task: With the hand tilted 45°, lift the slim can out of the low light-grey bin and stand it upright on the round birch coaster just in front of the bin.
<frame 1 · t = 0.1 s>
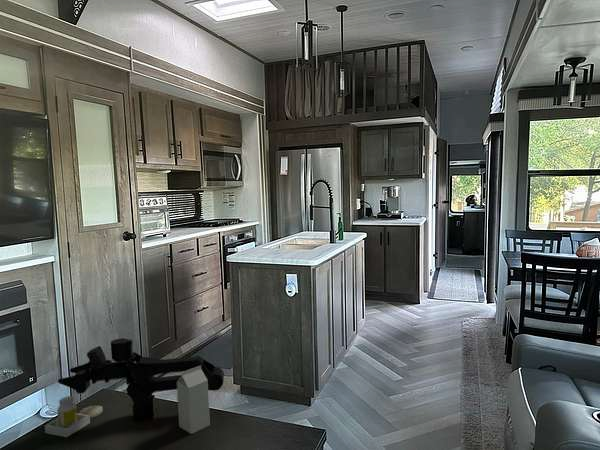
hand: (64, 375, 139), 17 cm above the table, tool horizontal, fingers open, 9 cm apart
supplement bottle: (68, 428, 137), resting in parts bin
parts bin: (68, 427, 137), on the table
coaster: (91, 413, 146), on the table
milk carton: (194, 426, 134), on the table
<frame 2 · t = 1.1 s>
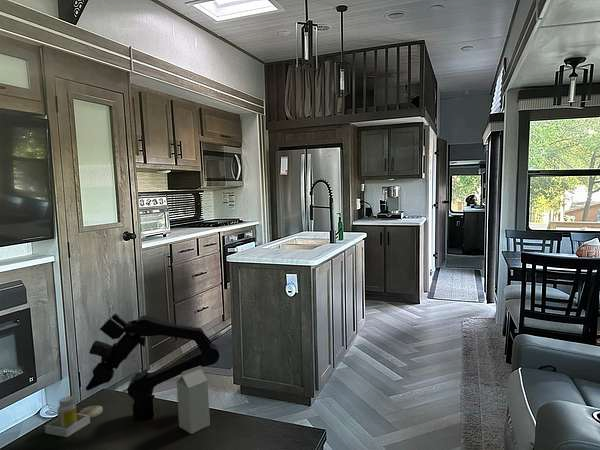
hand: (90, 383, 138), 14 cm above the table, tool tilted 45°, fingers open, 9 cm apart
nothing on the table moved.
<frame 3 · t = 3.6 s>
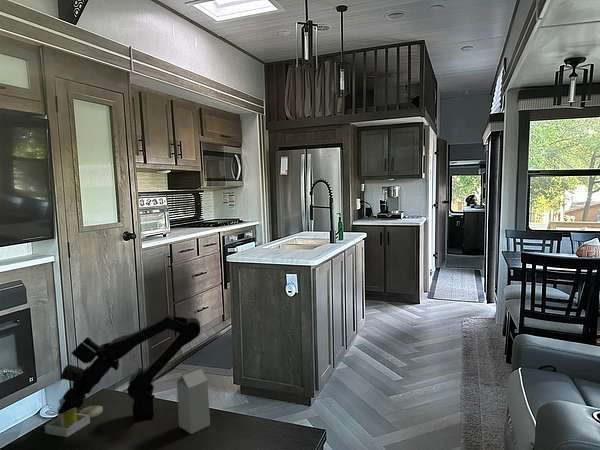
hand: (62, 408, 136), 7 cm above the table, tool tilted 45°, fingers open, 5 cm apart
supplement bottle: (68, 428, 137), resting in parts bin, touching gripper
everything else where it was.
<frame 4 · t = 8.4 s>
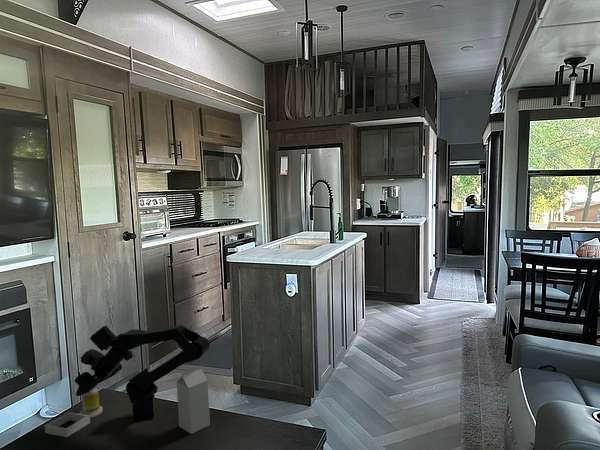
hand: (85, 389, 146), 9 cm above the table, tool tilted 45°, fingers open, 9 cm apart
supplement bottle: (91, 411, 146), point 1 cm above the table, touching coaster
everything else where it was.
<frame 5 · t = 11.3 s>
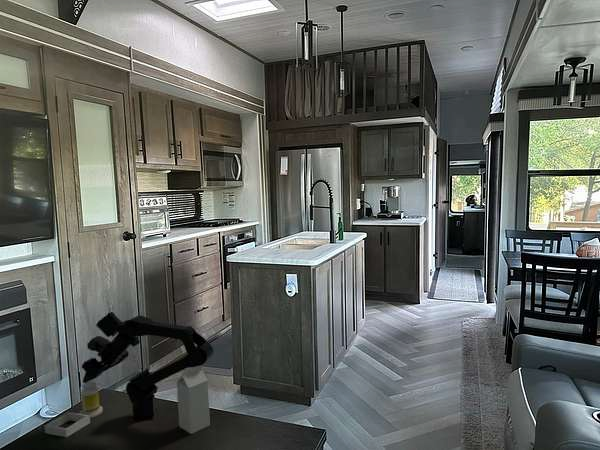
hand: (92, 376, 146), 13 cm above the table, tool tilted 45°, fingers open, 9 cm apart
milk carton: (194, 427, 134), on the table, touching arm
everything else where it was.
at the end: supplement bottle 0.1 cm from the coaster (horizontally); supplement bottle tilted 0°; the gripper is holding nothing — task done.
